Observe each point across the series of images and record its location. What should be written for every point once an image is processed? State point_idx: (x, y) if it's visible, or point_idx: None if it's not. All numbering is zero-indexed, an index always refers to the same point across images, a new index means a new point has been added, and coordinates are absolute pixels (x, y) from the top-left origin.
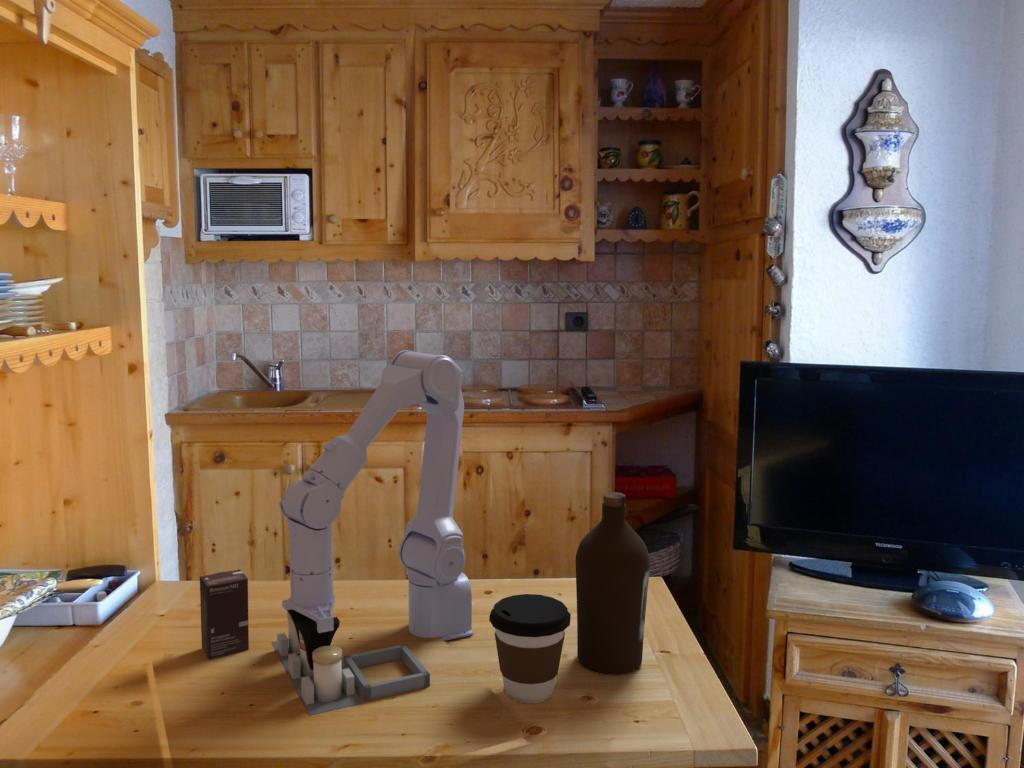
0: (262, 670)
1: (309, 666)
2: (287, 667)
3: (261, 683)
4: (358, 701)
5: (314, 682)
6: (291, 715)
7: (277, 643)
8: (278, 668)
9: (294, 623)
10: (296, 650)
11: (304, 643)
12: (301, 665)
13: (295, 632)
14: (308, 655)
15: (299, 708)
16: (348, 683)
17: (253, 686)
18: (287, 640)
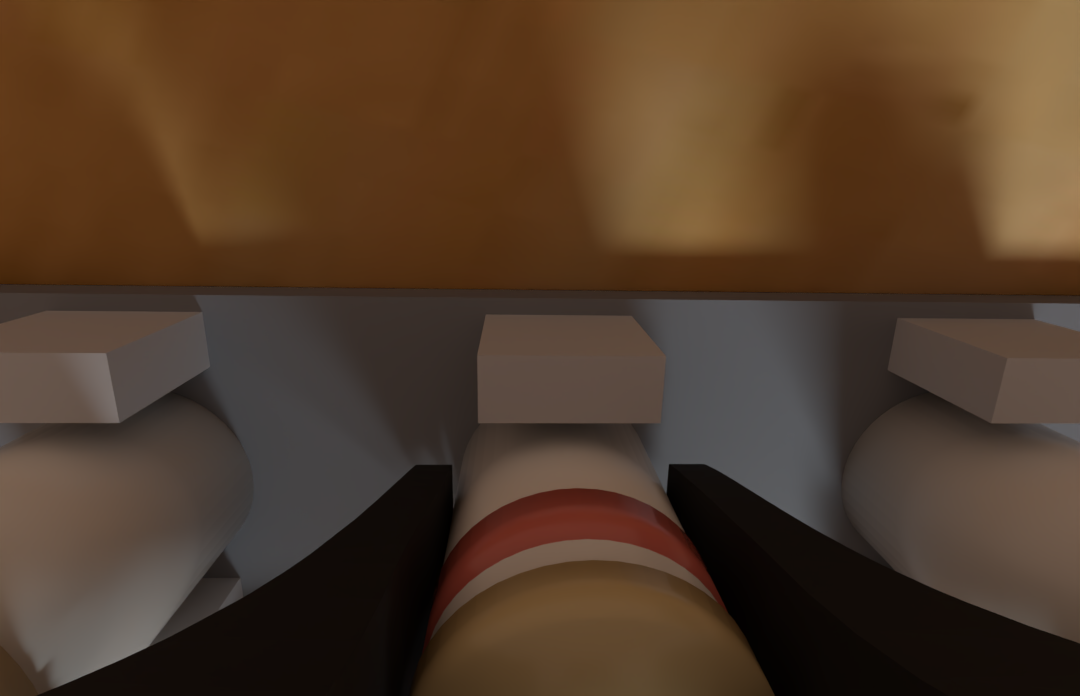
0: (822, 147)
1: (433, 468)
2: (693, 319)
3: (621, 91)
4: None
5: (32, 441)
6: (44, 189)
7: (1075, 331)
8: (787, 266)
9: (892, 635)
10: (887, 438)
11: (360, 583)
12: None
13: (1011, 519)
14: (347, 525)
15: (132, 265)
16: None
17: (603, 18)
18: (979, 413)
